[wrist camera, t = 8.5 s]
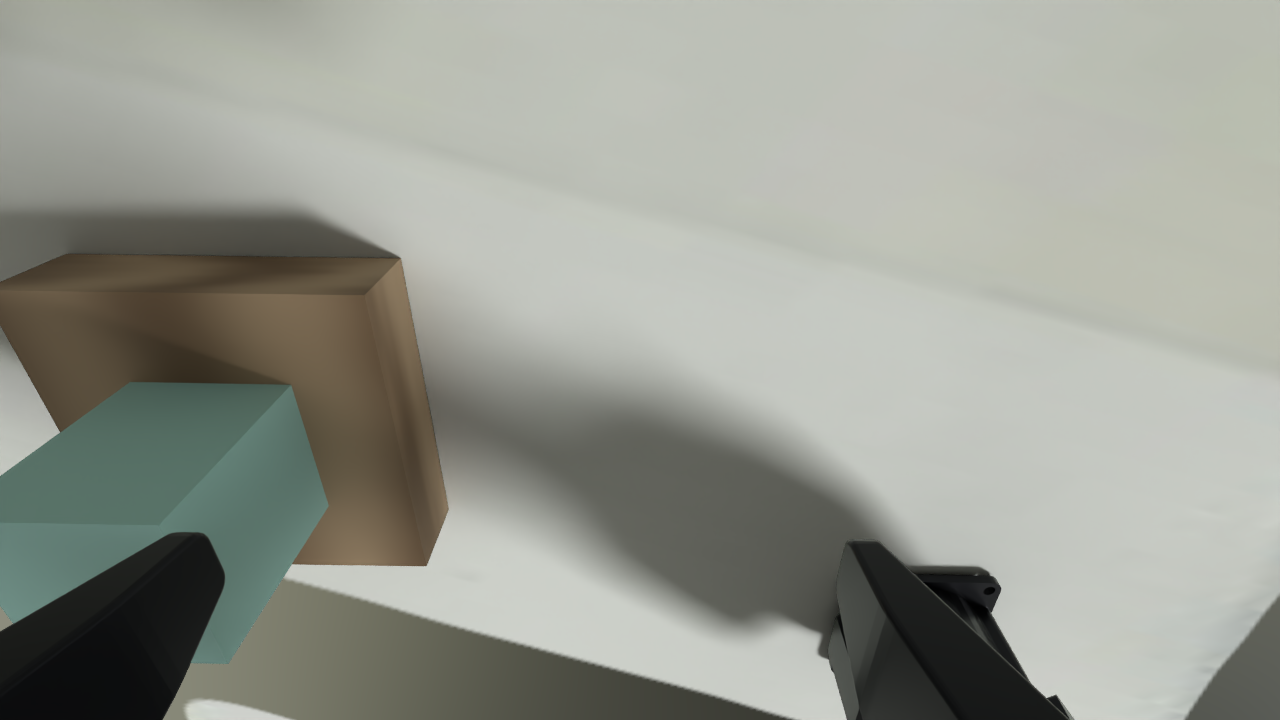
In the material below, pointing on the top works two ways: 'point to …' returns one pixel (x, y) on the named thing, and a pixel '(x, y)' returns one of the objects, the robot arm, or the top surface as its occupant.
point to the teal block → (165, 496)
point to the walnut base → (256, 369)
